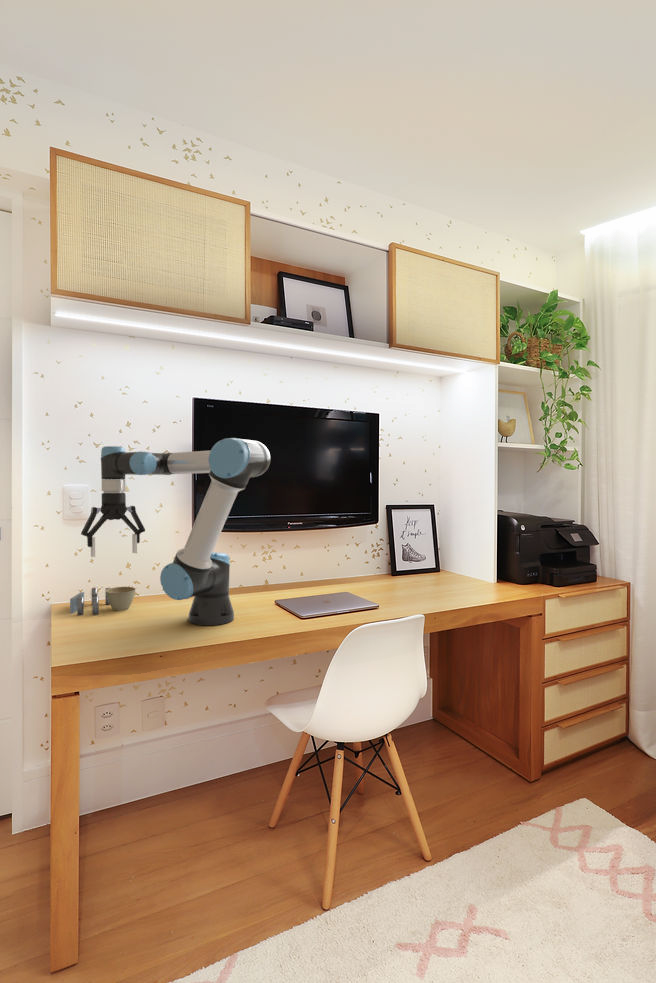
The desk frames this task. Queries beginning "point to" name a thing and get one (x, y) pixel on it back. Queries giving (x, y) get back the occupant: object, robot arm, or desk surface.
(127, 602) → the flower pot
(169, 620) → the desk surface
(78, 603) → the pin cradle
